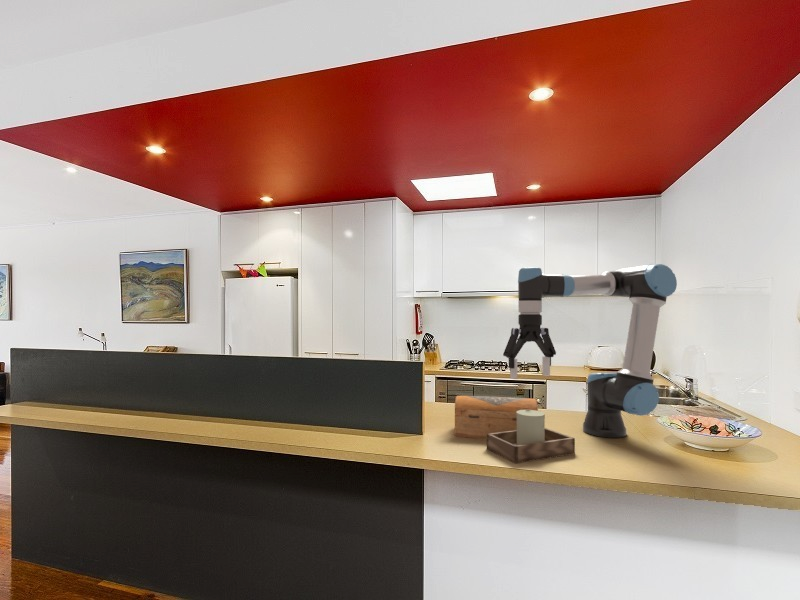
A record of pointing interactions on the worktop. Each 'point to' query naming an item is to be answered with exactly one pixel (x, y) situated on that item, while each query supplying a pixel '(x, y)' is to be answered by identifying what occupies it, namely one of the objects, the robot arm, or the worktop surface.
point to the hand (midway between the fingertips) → (530, 377)
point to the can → (530, 426)
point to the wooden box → (488, 414)
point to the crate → (530, 446)
